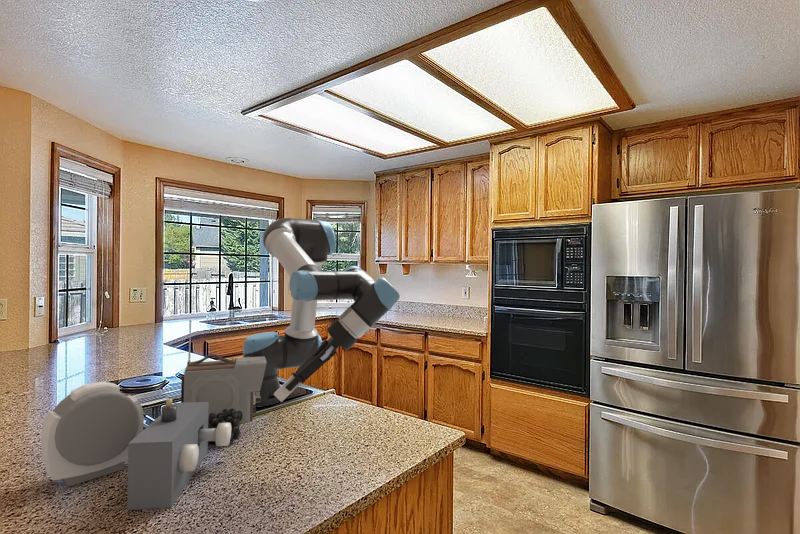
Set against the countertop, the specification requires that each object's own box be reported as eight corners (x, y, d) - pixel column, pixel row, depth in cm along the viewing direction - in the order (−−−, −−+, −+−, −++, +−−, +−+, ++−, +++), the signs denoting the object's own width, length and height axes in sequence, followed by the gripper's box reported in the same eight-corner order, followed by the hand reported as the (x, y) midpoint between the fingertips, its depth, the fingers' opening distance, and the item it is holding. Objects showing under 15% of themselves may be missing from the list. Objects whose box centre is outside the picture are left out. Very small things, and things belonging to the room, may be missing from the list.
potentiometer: (164, 417, 96) (164, 397, 96) (178, 417, 96) (178, 397, 96) (158, 422, 93) (159, 401, 93) (173, 422, 93) (173, 401, 93)
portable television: (265, 421, 130) (267, 323, 129) (178, 431, 121) (180, 325, 121) (263, 408, 141) (264, 318, 140) (182, 416, 132) (184, 320, 132)
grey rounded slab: (132, 454, 106) (133, 373, 106) (145, 465, 100) (146, 380, 100) (38, 482, 92) (40, 389, 92) (48, 496, 86) (50, 397, 86)
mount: (173, 454, 106) (174, 402, 106) (207, 453, 107) (208, 401, 107) (127, 510, 82) (128, 443, 82) (171, 507, 84) (172, 441, 83)
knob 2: (199, 441, 104) (199, 420, 104) (231, 440, 105) (231, 419, 105) (192, 450, 99) (192, 428, 99) (225, 449, 100) (226, 427, 100)
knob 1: (162, 465, 91) (162, 441, 91) (198, 463, 92) (198, 440, 92) (151, 477, 86) (152, 452, 86) (190, 475, 87) (190, 450, 87)
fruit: (182, 412, 110) (243, 407, 114) (188, 412, 118) (246, 407, 122) (179, 448, 108) (242, 441, 112) (186, 445, 115) (245, 439, 119)
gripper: (360, 344, 100) (285, 417, 98) (357, 335, 113) (291, 399, 111) (337, 322, 99) (262, 395, 97) (337, 315, 112) (270, 379, 110)
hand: (278, 397), depth 104 cm, fingers closed
